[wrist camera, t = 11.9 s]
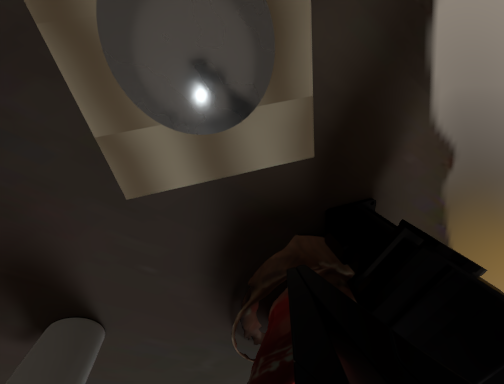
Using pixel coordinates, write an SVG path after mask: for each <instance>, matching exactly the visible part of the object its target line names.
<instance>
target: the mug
mask: <svg viewBox="0 0 504 384" xmlns="http://www.w3.org/2000/svg"><path fill="white" fill-rule="evenodd" d="M104 337H105V331H104V328H103V327H102V326H101V325H100V324H99V323H97V322H95V321H93V320H90V319H86V318H66V319H62V320H59V321H56V322H54V323H52V324H51V325H50V326H49V327H48V328H47V329H46V330H45V331H44V333H43V334H42V335H41V337H40V338H39V339H38V341H37V342H36V343H35V345H34V346H33V347H32V349H31V350H30V351H29V352H28V354H27V355H26V356H25V358H24V359H23V360H22V362H21V363H20V365H19V366H18V367H17V369H16V370H15V371H14V373H13V374H12V375H11V377H10V378H9V379H8V381H7V382H6V383H5V384H85V383H86V380H87V378H88V375H89V373H90V371H91V368H92V366H93V364H94V361H95V359H96V356H97V354H98V351H99V349H100V347H101V344H102V342H103V339H104Z"/></svg>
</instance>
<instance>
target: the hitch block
mask: <svg viewBox="0 0 504 384" xmlns="http://www.w3.org/2000/svg"><path fill="white" fill-rule="evenodd" d="M24 1H25V3H26V5H27V7H28V9H29V11H30V13H31V15H32V17H33V19H34V21H35V23H36V25H37V27H38V29H39V30H40V32H41V34H42V36H43V38H44V40H45V42H46V44H47V46H48V48H49V50H50V52H51V54H52V56H53V58H54V60H55V61H56V63H57V65H58V67H59V69H60V71H61V73H62V75H63V77H64V79H65V81H66V83H67V85H68V87H69V89H70V91H71V92H72V94H73V96H74V98H75V100H76V102H77V104H78V106H79V108H80V110H81V112H82V114H83V116H84V118H85V120H86V122H87V123H88V125H89V127H90V129H91V131H92V133H93V135H94V137H95V139H96V141H97V143H98V145H99V147H100V149H101V151H102V153H103V154H104V156H105V158H106V160H107V162H108V164H109V166H110V168H111V170H112V172H113V174H114V176H115V178H116V180H117V182H118V184H119V185H120V187H121V189H122V191H123V193H124V195H125V197H126V199H132V198H136V197H140V196H145V195H149V194H154V193H158V192H162V191H167V190H171V189H176V188H180V187H184V186H189V185H193V184H198V183H202V182H206V181H211V180H215V179H220V178H224V177H228V176H233V175H237V174H242V173H246V172H250V171H255V170H259V169H264V168H268V167H272V166H277V165H281V164H286V163H290V162H294V161H299V160H303V159H308V158H312V157H314V122H313V76H312V30H311V0H266V2H267V4H268V7H269V10H270V14H271V18H272V22H273V29H274V36H275V57H274V65H273V71H272V75H271V79H270V82H269V85H268V87H267V90H266V92H265V94H264V96H263V98H262V99H261V101H260V103H259V104H258V105H257V107H256V108H255V110H254V111H253V112H252V113H251V114H250V115H249V116H248V117H247V118H246V119H244V120H243V121H242V122H241V123H239V124H237V125H236V126H234V127H232V128H230V129H228V130H225V131H222V132H219V133H215V134H207V135H195V134H187V133H183V132H179V131H176V130H173V129H171V128H168V127H166V126H164V125H162V124H160V123H158V122H156V121H155V120H153V119H152V118H151V117H149V116H148V115H146V114H145V113H144V112H143V111H142V110H140V109H139V108H138V107H137V106H136V105H135V104H134V103H133V102H132V101H131V100H130V99H129V97H128V96H127V95H126V94H125V92H124V91H123V90H122V88H121V87H120V86H119V84H118V82H117V81H116V79H115V77H114V76H113V74H112V72H111V70H110V68H109V66H108V63H107V61H106V58H105V56H104V53H103V50H102V47H101V43H100V38H99V34H98V27H97V19H96V2H97V0H24Z"/></svg>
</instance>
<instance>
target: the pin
mask: <svg viewBox="0 0 504 384" xmlns="http://www.w3.org/2000/svg"><path fill="white" fill-rule="evenodd" d="M96 19H97V27H98V34H99V38H100V43H101V47H102V50H103V53H104V56H105V58H106V61H107V63H108V66H109V68H110V70H111V72H112V74H113V76H114V77H115V79H116V81H117V82H118V84H119V86H120V87H121V88H122V90H123V91H124V92H125V94H126V95H127V96H128V97H129V99H130V100H131V101H132V102H133V103H134V104H135V105H136V106H137V107H138V108H139V109H140V110H142V111H143V112H144V113H145V114H146V115H148V116H149V117H151V118H152V119H153V120H155V121H156V122H158V123H160V124H162V125H164V126H166V127H168V128H171V129H173V130H176V131H179V132H183V133H187V134H195V135H207V134H215V133H219V132H222V131H225V130H228V129H230V128H232V127H234V126H236V125H237V124H239V123H241V122H242V121H243V120H244V119H246V118H247V117H248V116H249V115H250V114H251V113H252V112H253V111H254V110H255V108H256V107H257V105H258V104H259V103H260V101H261V99H262V98H263V96H264V94H265V92H266V90H267V87H268V85H269V82H270V79H271V75H272V71H273V65H274V57H275V36H274V29H273V22H272V18H271V14H270V10H269V7H268V4H267V2H266V0H97V2H96Z"/></svg>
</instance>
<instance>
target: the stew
mask: <svg viewBox="0 0 504 384" xmlns="http://www.w3.org/2000/svg"><path fill="white" fill-rule="evenodd" d="M303 264H305V265H307V266H308V267H309V268H311V269H312V270H313V271H315V272H316V273H317V274H319V275H320V276H322V277H323V278H324V279H326V280H327V281H328V282H330V283H331V284H332V285H334V286H335V287H336V288H338V289H339V290H340V291H342V292H343V293H344V294H346V295H347V296H348V297H350V298H351V299H352V300H354V301H355V302H356V300H355V298H354V296H353V294H352V292H351V290H350V288H349V286H348V284H347V281H348V279H349V278H352V276H353V275H354V274H355V273H354V272H353V271H352V269H351V268H350V267H349V266H348V265H343V264H342V263H341V262H340V261H339V259H338V258H337V257H336V256H335V254H334V253H333V252H332V251H331V250H330V248H329V247H328V246H327V245H326V243H325V238H323V237H318V236H308V235H307V236H299V235H295V236H294V237H293V238H292V240H291V241H290V242H289V244H288V245H287V246H286V247H285V248H284V249H283V250H282V251H280V252H278V253H275V254H274V255H273V256H272V257H270V258H269V259H268V260H267V261H266V262H264V263H263V264H262V266H260V267H259V269H258V270H257V271H256V272H255V273H254V276H252V277H251V278H250V280H249V282H248V284H249V285H250V286H251V287H250V289H249V290H248V291H247V293H246V295H245V297H244V298H243V303H242V309H241V311H240V312H239V313H238V314H237V316H236V319H235V322H234V324H233V327H232V343H233V346H234V348H235V349H236V351H237V353H238V354H240V355H241V356H242V357H244V358H245V359H248V360H250V361H252V362H254V364H253V366H252V370H251V376H250V379H249V381H248V383H247V384H295V378H294V365H293V363H294V362H293V351H292V338H291V325H290V312H289V299H288V287H287V288H286V289H285V291H284V292H283V293H281V295H280V296H279V297H278V298H277V299H276V300H275V301H274V302H273V305H272V307H271V309H270V313H269V318H268V321H269V324H268V330H267V332H266V333H261V332H260V330H259V328H260V327H261V326H262V325H261V324H260V323H259V322H258V319H257V315H256V311H257V309H258V306H259V304H258V301H260V300H261V299H263V298H265V297H266V296H267V295H268V294H270V293H271V292H272V291H273V289H275V288H276V287H277V286H278V285H280V284H281V283H282V282H284V281H285V280H287V273H286V270H287V269H289V268H293V267H295V268H296V267H297V266H300V265H303ZM356 303H357V302H356ZM239 320H240V321H241V324H242V328H243V329H244V337H245V338H248V340H249V339H250V337H252V338H253V340H254V345H258V344H261V346H260V349H259V351H258V353H257V356H256V359H250V358H249V357H248V356H247V355H246V354H245V353H244V354H242V353H241V352H239V351H238V350H237V343H236V340H235V331H236V328H237V325H238V323H239Z"/></svg>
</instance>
